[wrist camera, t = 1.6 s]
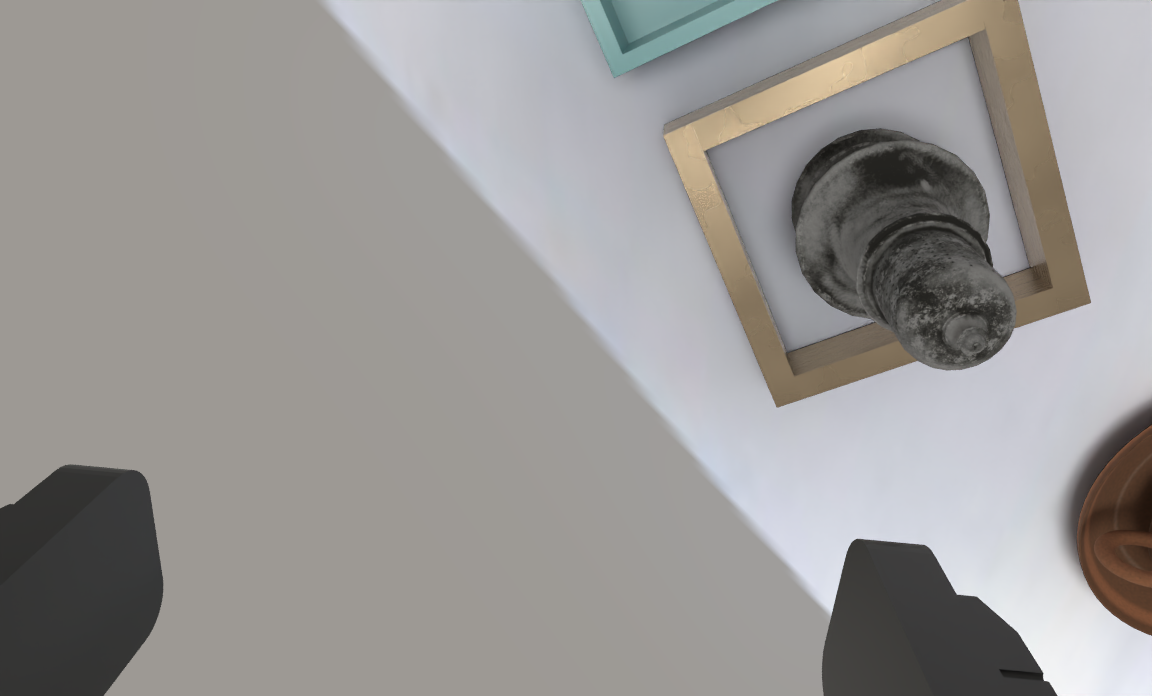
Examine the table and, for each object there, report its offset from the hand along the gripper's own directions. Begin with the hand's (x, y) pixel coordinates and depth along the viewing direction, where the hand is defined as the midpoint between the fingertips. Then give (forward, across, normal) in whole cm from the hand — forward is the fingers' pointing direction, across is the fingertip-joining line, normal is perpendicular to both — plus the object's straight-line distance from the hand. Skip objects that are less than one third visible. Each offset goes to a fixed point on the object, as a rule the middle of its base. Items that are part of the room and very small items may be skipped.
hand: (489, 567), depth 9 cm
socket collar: (+22, -10, 0) cm, 24 cm away
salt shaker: (+22, -10, 0) cm, 24 cm away
